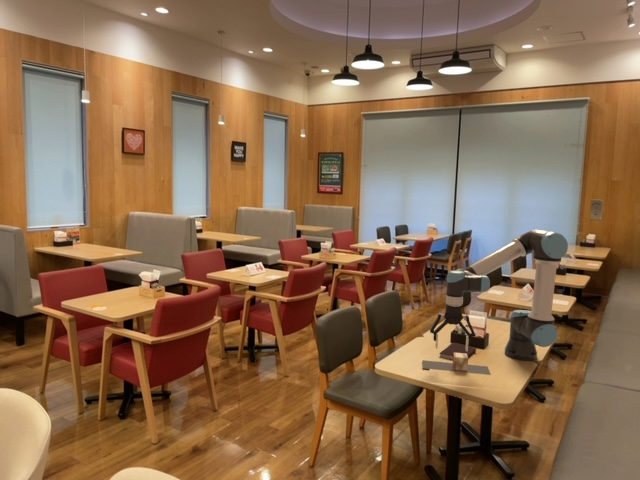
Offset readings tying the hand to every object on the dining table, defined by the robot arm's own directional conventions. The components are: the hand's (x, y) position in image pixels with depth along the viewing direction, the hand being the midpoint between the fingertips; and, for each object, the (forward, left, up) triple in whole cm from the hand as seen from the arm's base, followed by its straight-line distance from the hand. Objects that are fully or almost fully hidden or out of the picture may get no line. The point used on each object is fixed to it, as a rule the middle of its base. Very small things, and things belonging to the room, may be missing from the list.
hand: (451, 349), depth 221 cm
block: (-7, 0, -6) cm, 9 cm away
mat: (-2, 0, -9) cm, 9 cm away
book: (-5, -19, -10) cm, 22 cm away
